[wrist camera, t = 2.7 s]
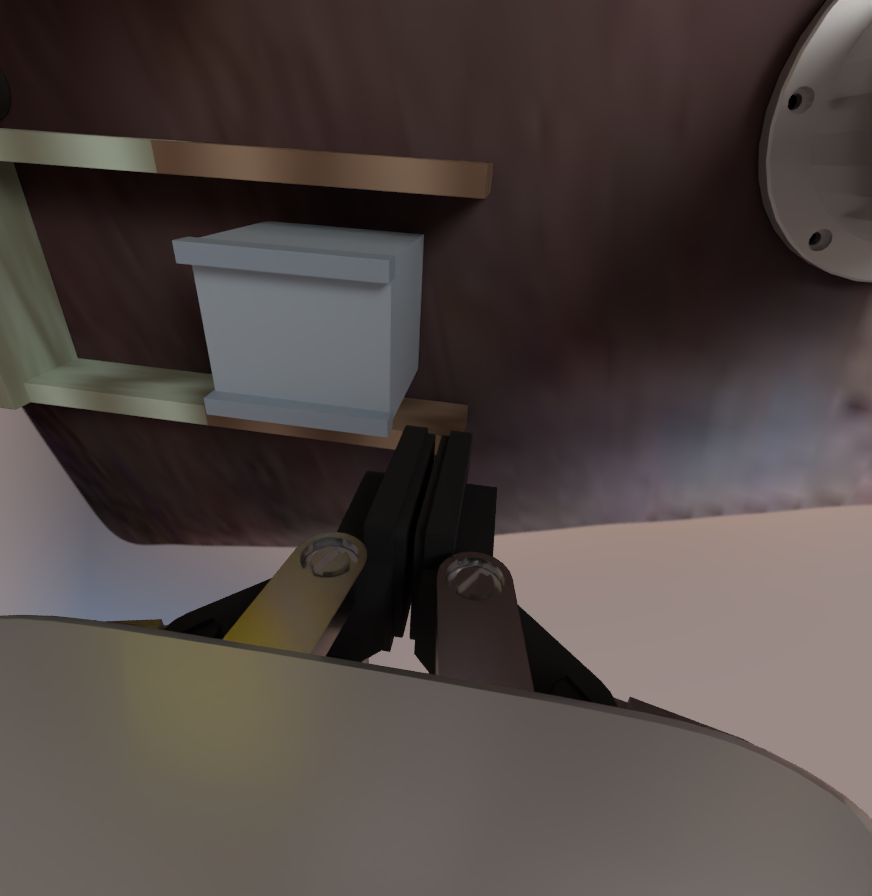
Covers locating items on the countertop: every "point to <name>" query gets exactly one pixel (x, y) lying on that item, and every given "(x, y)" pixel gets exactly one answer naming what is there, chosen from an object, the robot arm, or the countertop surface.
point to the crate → (309, 322)
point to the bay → (157, 389)
